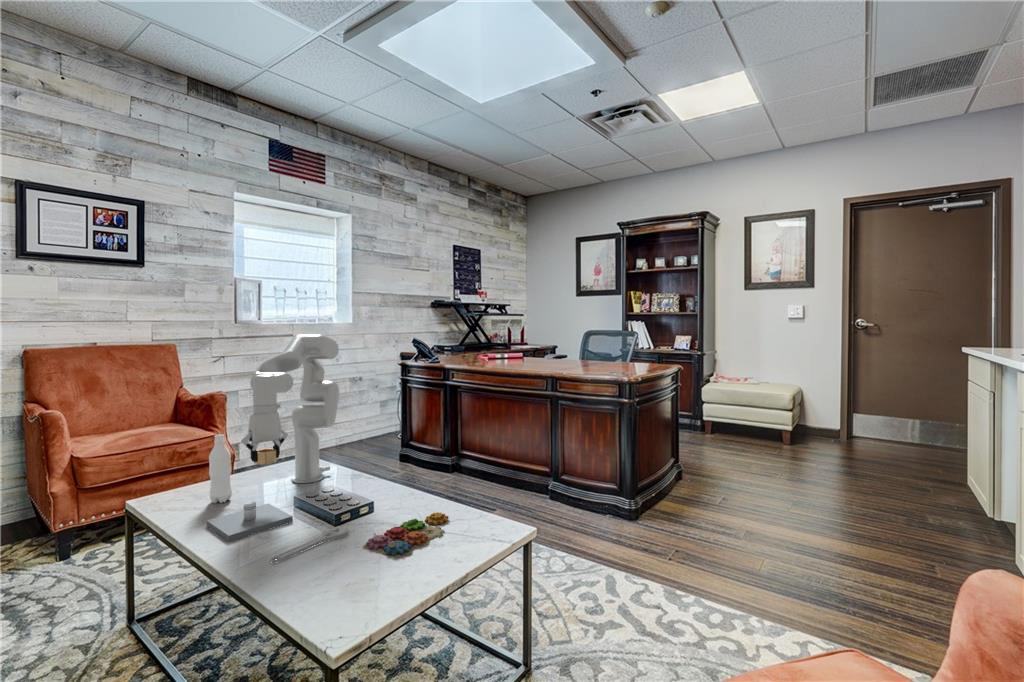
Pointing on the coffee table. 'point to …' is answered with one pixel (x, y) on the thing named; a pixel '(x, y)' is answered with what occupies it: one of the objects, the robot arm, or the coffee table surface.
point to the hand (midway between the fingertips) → (265, 459)
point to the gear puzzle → (407, 536)
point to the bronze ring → (266, 456)
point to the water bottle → (220, 471)
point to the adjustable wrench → (311, 544)
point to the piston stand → (248, 521)
